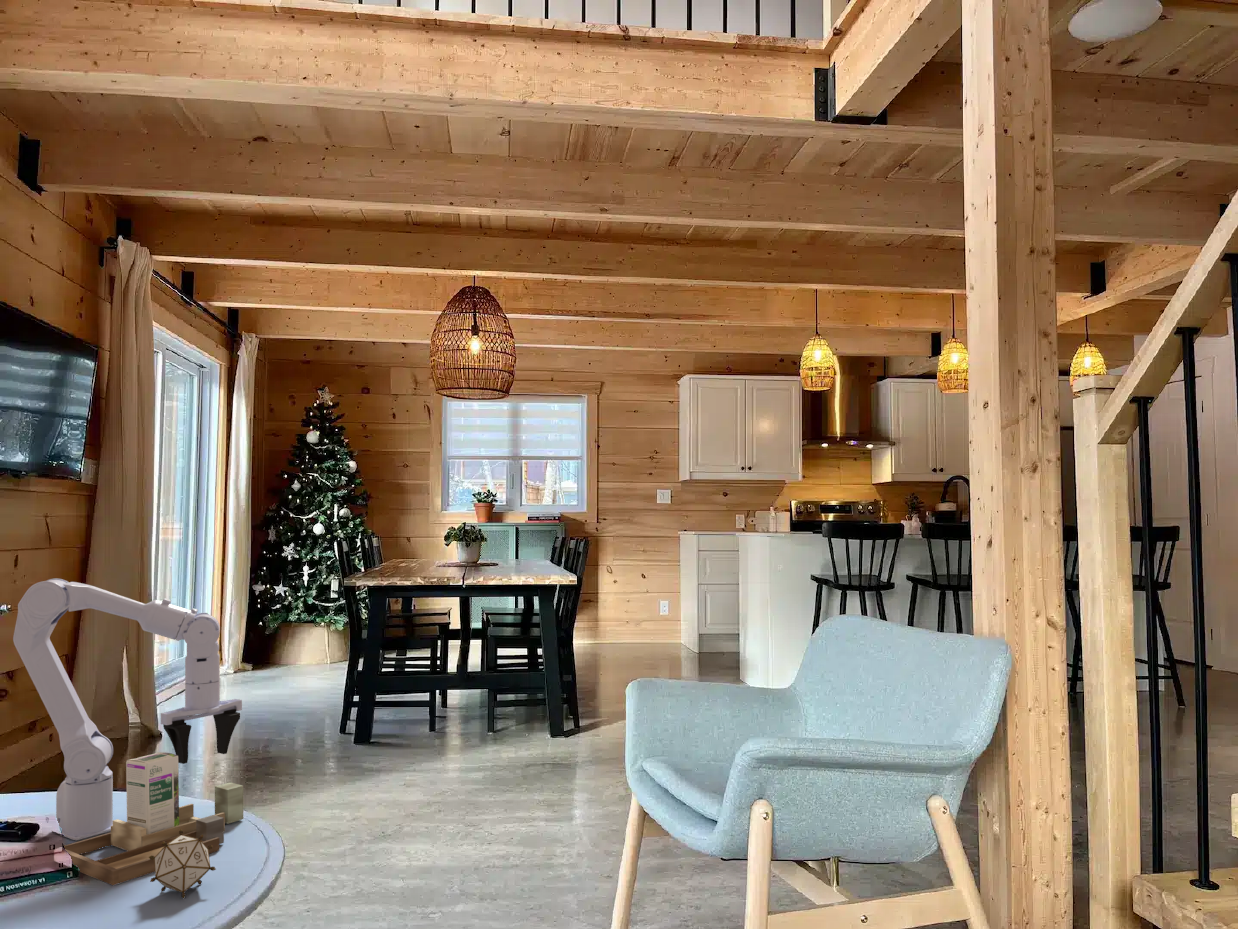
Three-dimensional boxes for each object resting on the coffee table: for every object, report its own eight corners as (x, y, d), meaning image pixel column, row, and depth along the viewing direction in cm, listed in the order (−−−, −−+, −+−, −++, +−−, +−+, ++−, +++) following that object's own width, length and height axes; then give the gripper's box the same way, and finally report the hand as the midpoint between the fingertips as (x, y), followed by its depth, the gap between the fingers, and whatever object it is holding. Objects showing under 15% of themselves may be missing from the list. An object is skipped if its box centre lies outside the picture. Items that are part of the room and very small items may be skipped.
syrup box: (147, 854, 151) (147, 762, 152) (125, 849, 154) (125, 758, 155) (180, 843, 156) (179, 754, 156) (158, 838, 159) (158, 750, 159)
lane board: (53, 861, 149) (53, 848, 149) (158, 830, 162) (158, 819, 163) (113, 885, 138) (113, 871, 138) (219, 850, 152) (219, 838, 152)
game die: (175, 914, 136) (172, 846, 142) (229, 892, 136) (225, 824, 142) (135, 905, 129) (134, 833, 135) (192, 882, 129) (189, 811, 135)
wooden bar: (105, 871, 143) (105, 844, 143) (210, 838, 157) (210, 814, 157) (121, 878, 140) (121, 850, 140) (226, 843, 154) (226, 818, 154)
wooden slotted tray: (110, 844, 155) (110, 808, 155) (220, 812, 171) (220, 780, 171) (143, 856, 149) (143, 819, 149) (253, 822, 165) (253, 788, 165)
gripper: (175, 690, 163) (176, 770, 162) (251, 677, 175) (251, 751, 174) (154, 686, 167) (154, 765, 166) (229, 674, 179) (229, 747, 178)
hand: (202, 758), depth 170 cm, fingers open, 7 cm apart
